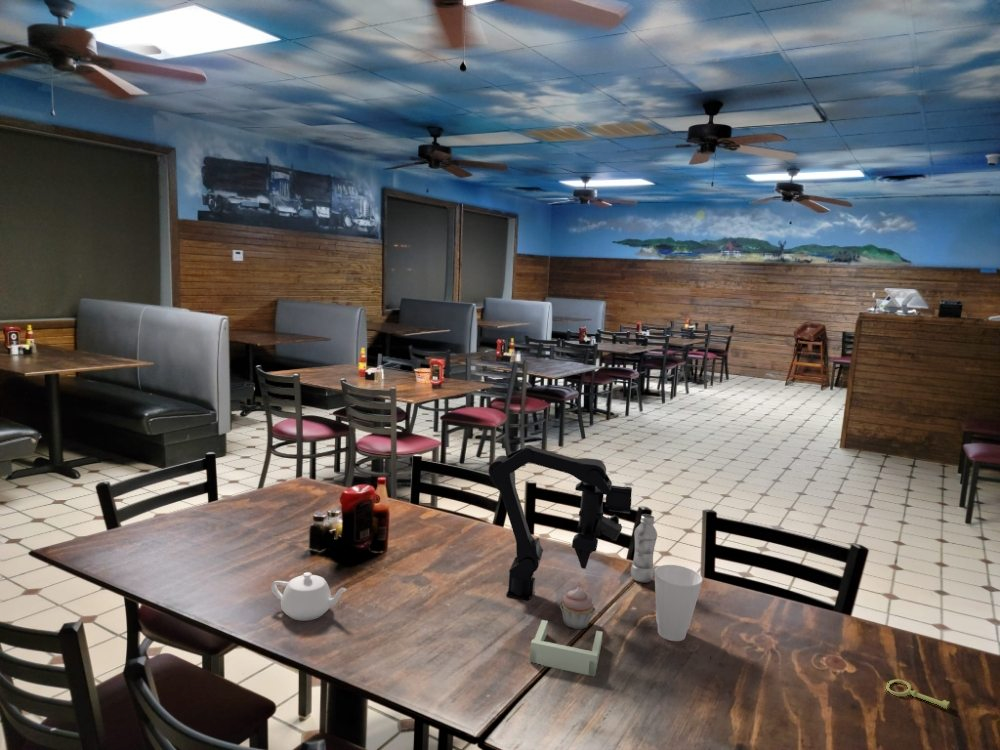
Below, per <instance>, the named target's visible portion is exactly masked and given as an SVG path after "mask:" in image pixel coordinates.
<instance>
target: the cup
mask: <svg viewBox="0 0 1000 750" xmlns="http://www.w3.org/2000/svg"><path fill="white" fill-rule="evenodd" d="M653 570H654V590H655V591H654V592H655V593H654V594H655V618H656V619H655V620H656V625H657V633H658V635H659V636H660V637H661V638H663V639H665V640H666V641H667V640H668V641H669V642H670V641H672V642H680V641H681V642H682V641H684V640H685V639H686V636H687V633H688V630H690V629H689V628H690V625H691V622H692V618H693V616H694V611H695V608H696V604H697V602H698V601H697V600H698V597H699V594H700V591H701V587H702V584H703V581H704V579H703V576H702V575H701V574H700V573H699V572H697V571H696V570H694V569H692V568H689V567H686V566H682V565H677V564H662V565H658V566H657V567H656V568H655V569H653Z"/></svg>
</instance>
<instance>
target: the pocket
mask: <svg viewBox="0 0 1000 750" xmlns="http://www.w3.org/2000/svg"><path fill="white" fill-rule="evenodd" d="M548 625H549V621H548V620H544V619H541V621H540V625H539V626H538V629H537V632H536V634H535V636H534V638H533V639H531V642H530V651H529V652H530V653H529V662H533V663H532V664H534V663H537V664H536V665H538V664H541V665H540V666H543V665H544V666H543V667H548V668H553V669H558V670H562V671H568V672H572V673H577V674H581V675H584V676H585V675H586V676H591V677H596V672H597V668H598V663H599V658H600V654H601V648H602V643H603V631H600V630H596V631H595V636H594V641H593V645H592V648H591V650H587V649H584V648H578V647H573V646H569V645H563V644H558V643H555V642H554V643H553V642H549V641H546V638H547V635H548ZM544 640H545V641H544Z"/></svg>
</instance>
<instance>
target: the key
mask: <svg viewBox="0 0 1000 750" xmlns="http://www.w3.org/2000/svg"><path fill="white" fill-rule="evenodd" d="M888 682H889V683H888ZM888 682H886V684H887V685H886V684H885V685H886V689H887V691H889V692H890V693H891V694H893V695H896V696H907V695H909V694H911V695H912V696H914V697H918V698H921V699H923V700H926V701H929V702H931V703H934V704H937V705H939V706H941V707H940V708H942V707H943V709H945V708H946V709H945V710H948V709H949V705H950V701H947V700H946V699H943V700H942V701H941V700H938V699H936V698H933V697H931V696H927V695H925V694H921V693H920V692H917V690H916V689H913V690H911V689H912V686H911V683H909V682H908V681H906V680H903V679H891V680H889V681H888ZM894 682H902V683H904V684H906V685H907V687H908V689H907V687H906V690H905V691H901V692H899V691H894V690H892V689H891V687H890V684H892V683H894ZM889 687H890V688H889ZM886 689H885V690H886ZM887 691H886V692H887ZM891 694H890V695H891ZM893 695H892V696H893ZM909 696H910V695H909ZM912 696H911V697H912ZM907 697H908V696H907ZM923 700H922V701H923ZM926 701H925V702H926ZM931 703H930V704H931ZM934 704H933V705H934ZM937 705H936V706H937ZM939 706H938V707H939ZM947 708H948V709H947Z"/></svg>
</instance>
